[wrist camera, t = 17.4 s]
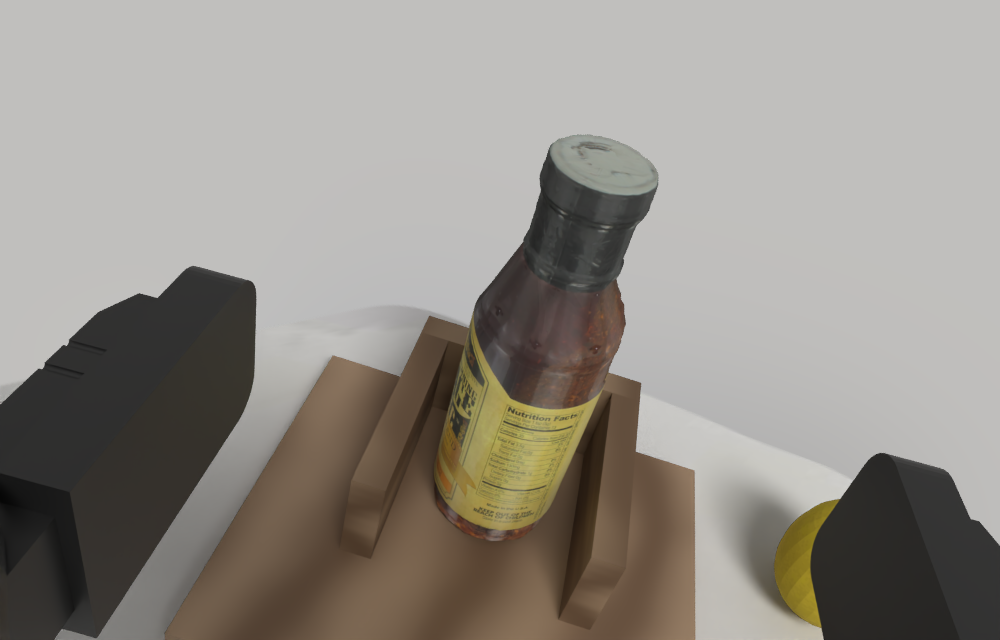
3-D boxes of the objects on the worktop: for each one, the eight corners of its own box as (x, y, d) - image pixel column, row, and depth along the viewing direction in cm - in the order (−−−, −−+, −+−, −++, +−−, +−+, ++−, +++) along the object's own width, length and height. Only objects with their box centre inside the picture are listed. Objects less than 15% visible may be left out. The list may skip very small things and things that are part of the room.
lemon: (867, 665, 39) (961, 576, 34) (765, 652, 38) (847, 560, 33) (830, 568, 43) (909, 478, 38) (738, 555, 42) (806, 461, 37)
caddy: (165, 652, 31) (159, 561, 27) (330, 373, 46) (341, 287, 42) (681, 821, 31) (750, 754, 27) (684, 486, 45) (730, 411, 41)
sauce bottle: (451, 435, 42) (544, 95, 30) (559, 476, 41) (698, 147, 29) (406, 526, 37) (496, 160, 25) (528, 575, 36) (682, 225, 24)
